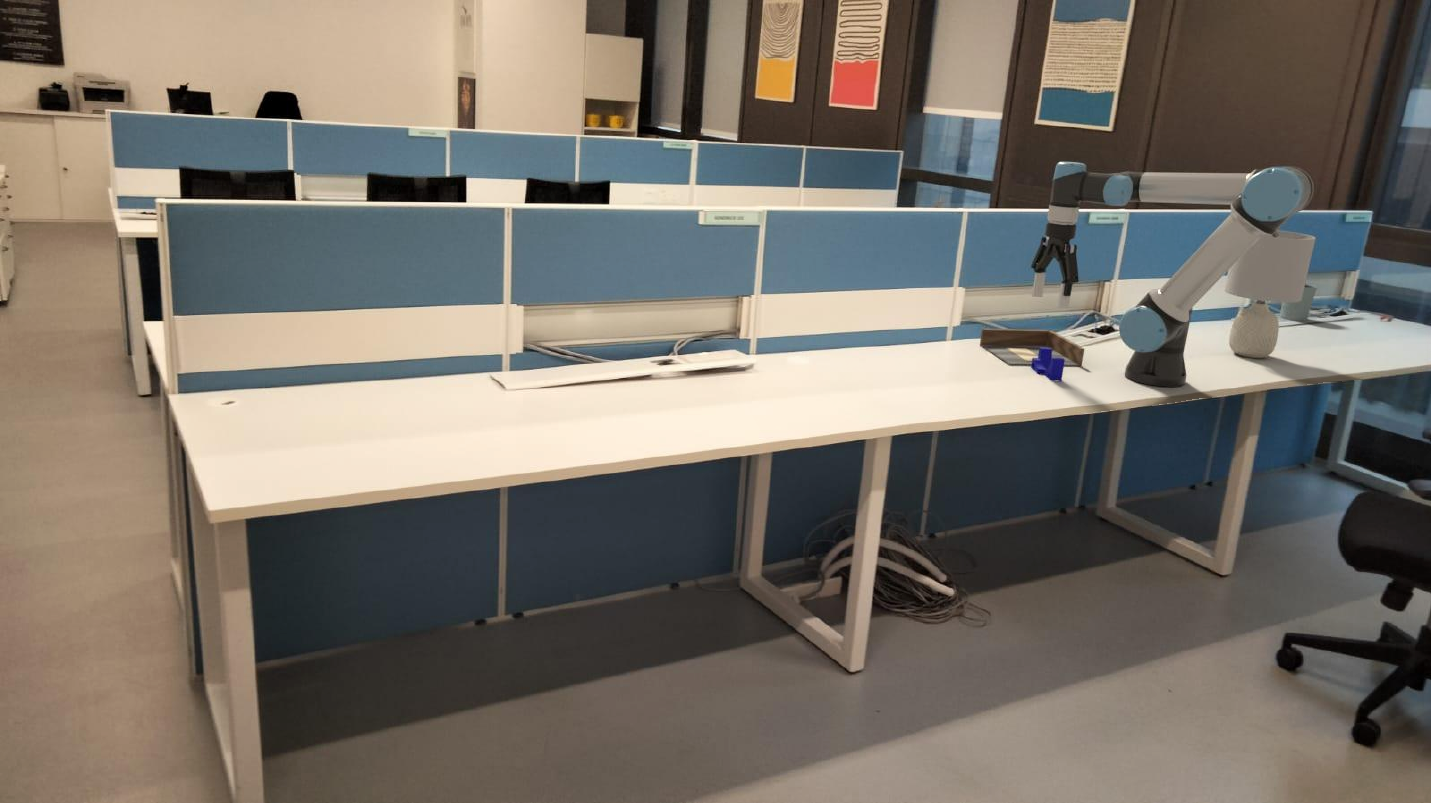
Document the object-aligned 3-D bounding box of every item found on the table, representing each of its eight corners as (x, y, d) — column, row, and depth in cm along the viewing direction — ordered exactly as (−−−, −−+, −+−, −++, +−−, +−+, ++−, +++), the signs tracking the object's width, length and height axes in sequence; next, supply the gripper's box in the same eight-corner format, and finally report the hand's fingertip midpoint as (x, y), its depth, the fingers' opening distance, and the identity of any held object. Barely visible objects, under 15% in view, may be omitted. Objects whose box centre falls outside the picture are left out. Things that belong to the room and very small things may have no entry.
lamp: (1269, 367, 297) (1297, 239, 286) (1199, 351, 312) (1224, 228, 301) (1299, 358, 310) (1327, 234, 299) (1231, 343, 324) (1256, 224, 313)
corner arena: (1081, 366, 288) (1084, 348, 286) (1008, 365, 285) (1011, 347, 283) (1048, 346, 308) (1050, 330, 306) (979, 345, 305) (982, 328, 303)
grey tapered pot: (1279, 319, 364) (1287, 285, 361) (1274, 313, 373) (1282, 280, 370) (1312, 323, 361) (1320, 288, 358) (1306, 317, 370) (1313, 283, 367)
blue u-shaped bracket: (1030, 368, 284) (1034, 346, 282) (1047, 369, 284) (1050, 347, 282) (1044, 380, 272) (1047, 358, 271) (1061, 381, 273) (1064, 359, 271)
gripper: (1101, 230, 262) (1087, 312, 268) (1050, 216, 285) (1039, 292, 291) (1074, 229, 260) (1061, 312, 267) (1025, 215, 283) (1014, 292, 290)
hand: (1049, 302), depth 279 cm, fingers open, 13 cm apart
